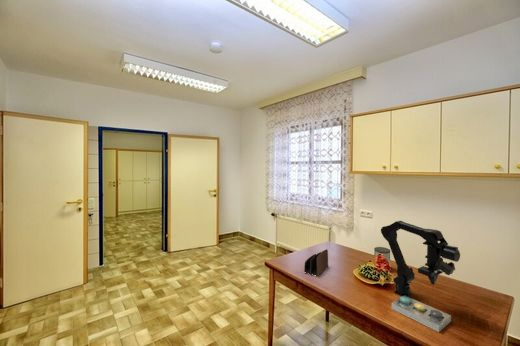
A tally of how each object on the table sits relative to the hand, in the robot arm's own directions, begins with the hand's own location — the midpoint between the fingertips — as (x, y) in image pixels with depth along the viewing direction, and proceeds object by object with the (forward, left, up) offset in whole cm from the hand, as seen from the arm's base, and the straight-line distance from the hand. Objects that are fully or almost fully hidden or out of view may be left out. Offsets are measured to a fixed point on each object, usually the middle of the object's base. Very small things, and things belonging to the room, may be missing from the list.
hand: (433, 284), depth 124 cm
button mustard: (-1, -12, -12) cm, 17 cm away
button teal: (-8, -12, -12) cm, 19 cm away
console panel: (-1, -12, -12) cm, 17 cm away
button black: (+6, -12, -12) cm, 18 cm away
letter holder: (-66, -17, -13) cm, 69 cm away
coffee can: (-41, +23, -13) cm, 49 cm away
